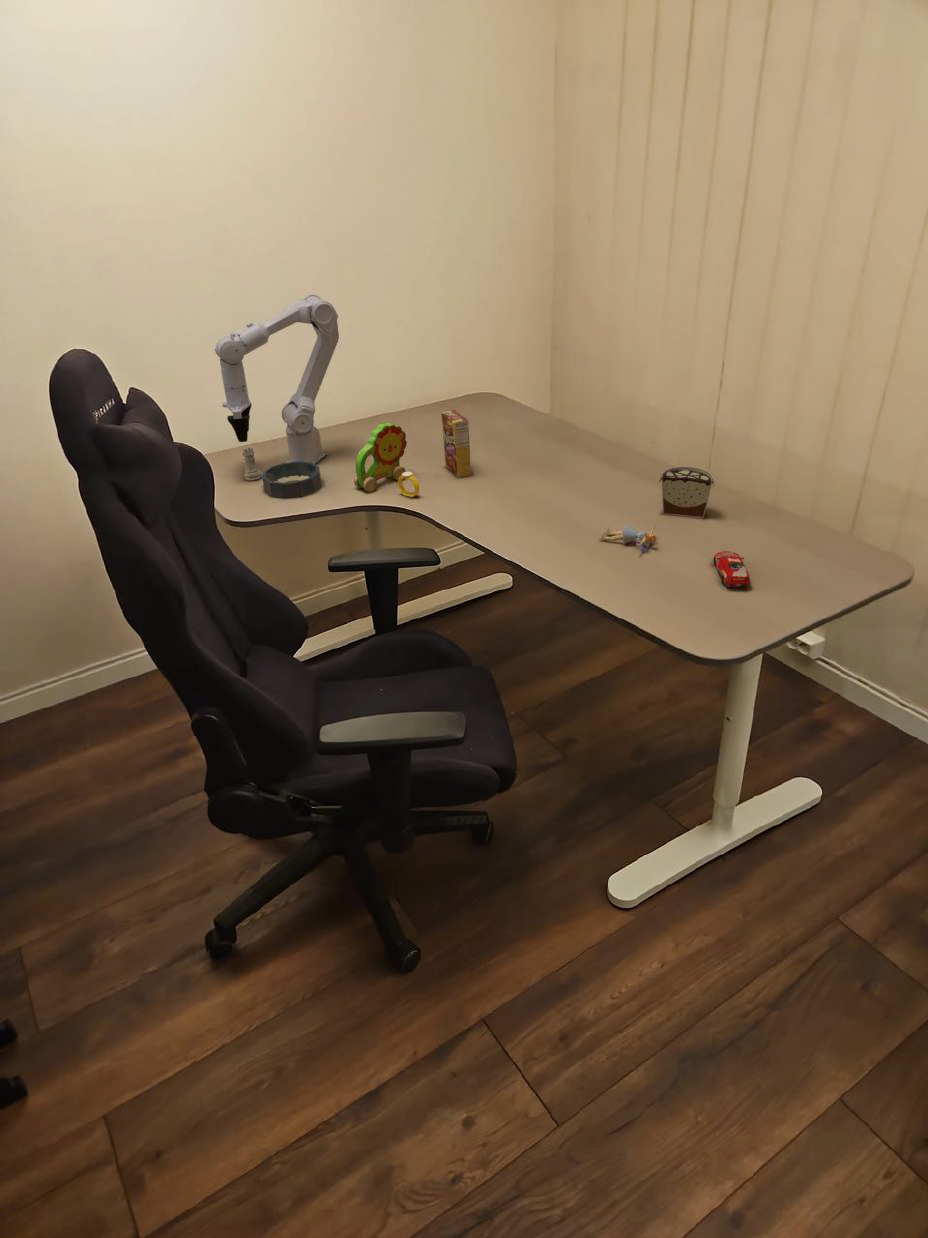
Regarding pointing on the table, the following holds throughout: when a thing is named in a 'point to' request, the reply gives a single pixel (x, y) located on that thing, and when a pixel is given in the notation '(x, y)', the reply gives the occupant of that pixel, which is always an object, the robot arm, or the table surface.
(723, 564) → the race car
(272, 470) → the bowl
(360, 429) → the table surface
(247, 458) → the rook chess piece
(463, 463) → the candy box
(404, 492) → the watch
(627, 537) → the fairy figurine
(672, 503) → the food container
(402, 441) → the toy lion
